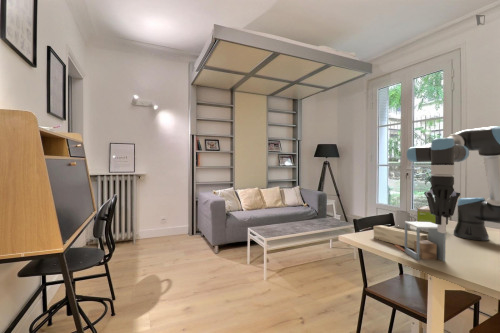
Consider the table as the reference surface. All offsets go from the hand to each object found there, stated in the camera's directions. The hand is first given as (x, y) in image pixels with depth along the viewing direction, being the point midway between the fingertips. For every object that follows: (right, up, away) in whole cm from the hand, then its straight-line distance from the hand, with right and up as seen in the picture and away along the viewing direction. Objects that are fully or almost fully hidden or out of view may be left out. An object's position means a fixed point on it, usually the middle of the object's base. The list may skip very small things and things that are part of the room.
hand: (441, 232), depth 98 cm
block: (+1, -15, +11) cm, 18 cm away
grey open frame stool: (+1, -14, +15) cm, 21 cm away
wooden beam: (-1, -13, +27) cm, 30 cm away
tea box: (+38, -15, +57) cm, 70 cm away
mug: (+25, -15, +61) cm, 68 cm away
